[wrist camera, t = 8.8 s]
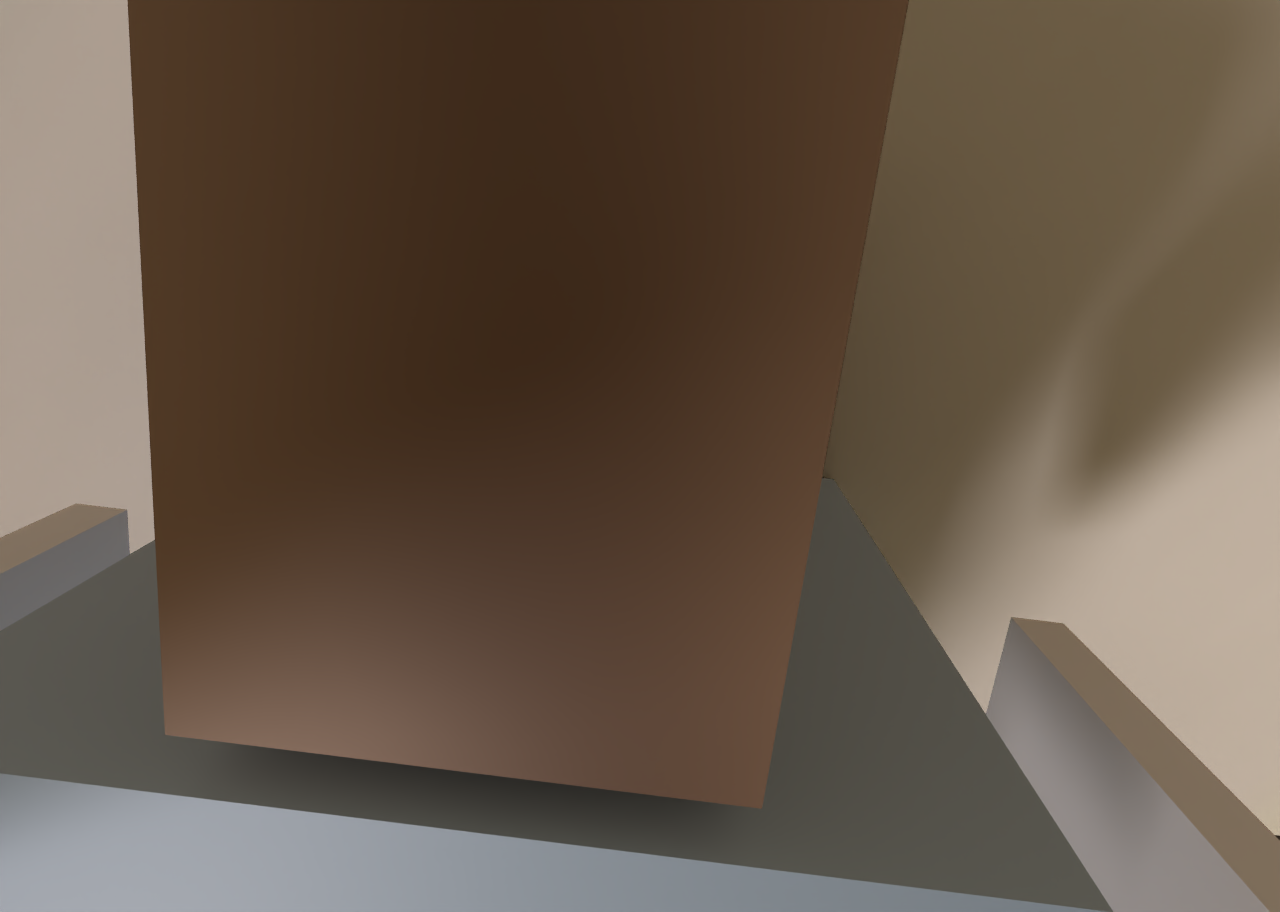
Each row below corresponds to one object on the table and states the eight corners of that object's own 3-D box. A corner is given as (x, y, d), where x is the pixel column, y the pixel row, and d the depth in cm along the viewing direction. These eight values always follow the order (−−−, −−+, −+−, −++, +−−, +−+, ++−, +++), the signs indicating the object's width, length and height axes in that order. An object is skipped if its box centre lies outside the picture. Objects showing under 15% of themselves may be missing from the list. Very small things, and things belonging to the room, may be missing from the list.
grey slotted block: (350, 614, 16) (-119, 1170, 7) (354, 421, 15) (-199, 749, 6) (798, 669, 16) (981, 1313, 7) (833, 479, 15) (1112, 911, 5)
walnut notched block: (460, 877, 18) (211, 1633, 8) (511, 94, 14) (114, -246, 4) (641, 900, 18) (603, 1684, 8) (749, 121, 14) (935, -155, 4)
